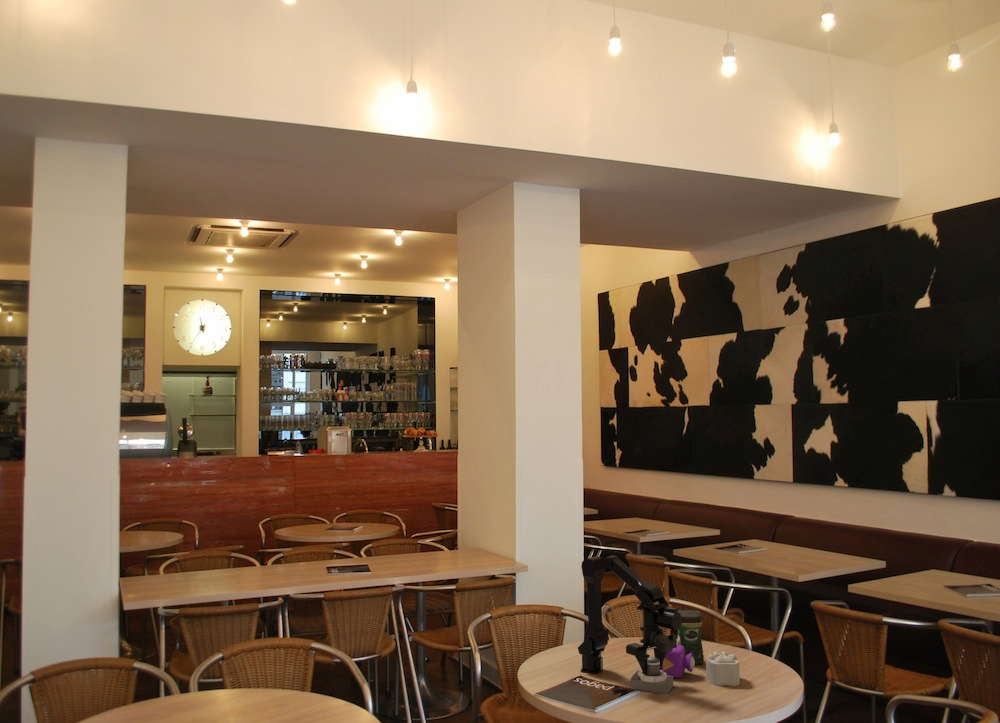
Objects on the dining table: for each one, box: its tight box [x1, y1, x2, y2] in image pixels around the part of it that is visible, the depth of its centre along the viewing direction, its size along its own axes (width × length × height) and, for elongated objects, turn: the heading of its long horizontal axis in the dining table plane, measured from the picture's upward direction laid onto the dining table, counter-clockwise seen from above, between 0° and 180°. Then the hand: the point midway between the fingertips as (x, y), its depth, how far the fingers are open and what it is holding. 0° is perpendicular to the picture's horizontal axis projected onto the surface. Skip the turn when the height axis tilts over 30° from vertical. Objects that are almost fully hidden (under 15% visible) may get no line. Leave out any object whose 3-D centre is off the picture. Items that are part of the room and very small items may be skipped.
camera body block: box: [630, 668, 674, 695], centre depth 276 cm, size 12×9×4 cm
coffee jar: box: [677, 609, 705, 665], centre depth 304 cm, size 10×8×19 cm
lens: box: [645, 656, 660, 677], centre depth 277 cm, size 5×5×6 cm
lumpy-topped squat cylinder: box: [705, 650, 741, 687], centre depth 284 cm, size 10×13×9 cm
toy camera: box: [661, 645, 696, 679], centre depth 290 cm, size 11×14×10 cm
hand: (652, 672), depth 277 cm, fingers open, 6 cm apart
